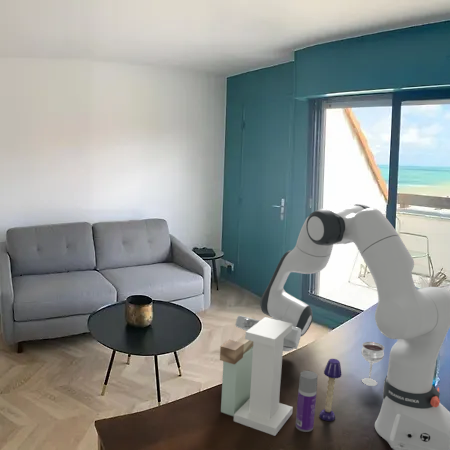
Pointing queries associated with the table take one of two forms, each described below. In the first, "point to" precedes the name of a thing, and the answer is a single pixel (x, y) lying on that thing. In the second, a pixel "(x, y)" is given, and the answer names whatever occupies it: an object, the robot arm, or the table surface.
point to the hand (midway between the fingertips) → (259, 324)
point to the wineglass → (372, 358)
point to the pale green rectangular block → (236, 383)
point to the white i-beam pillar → (266, 378)
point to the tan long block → (234, 350)
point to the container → (306, 401)
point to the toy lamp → (330, 388)
